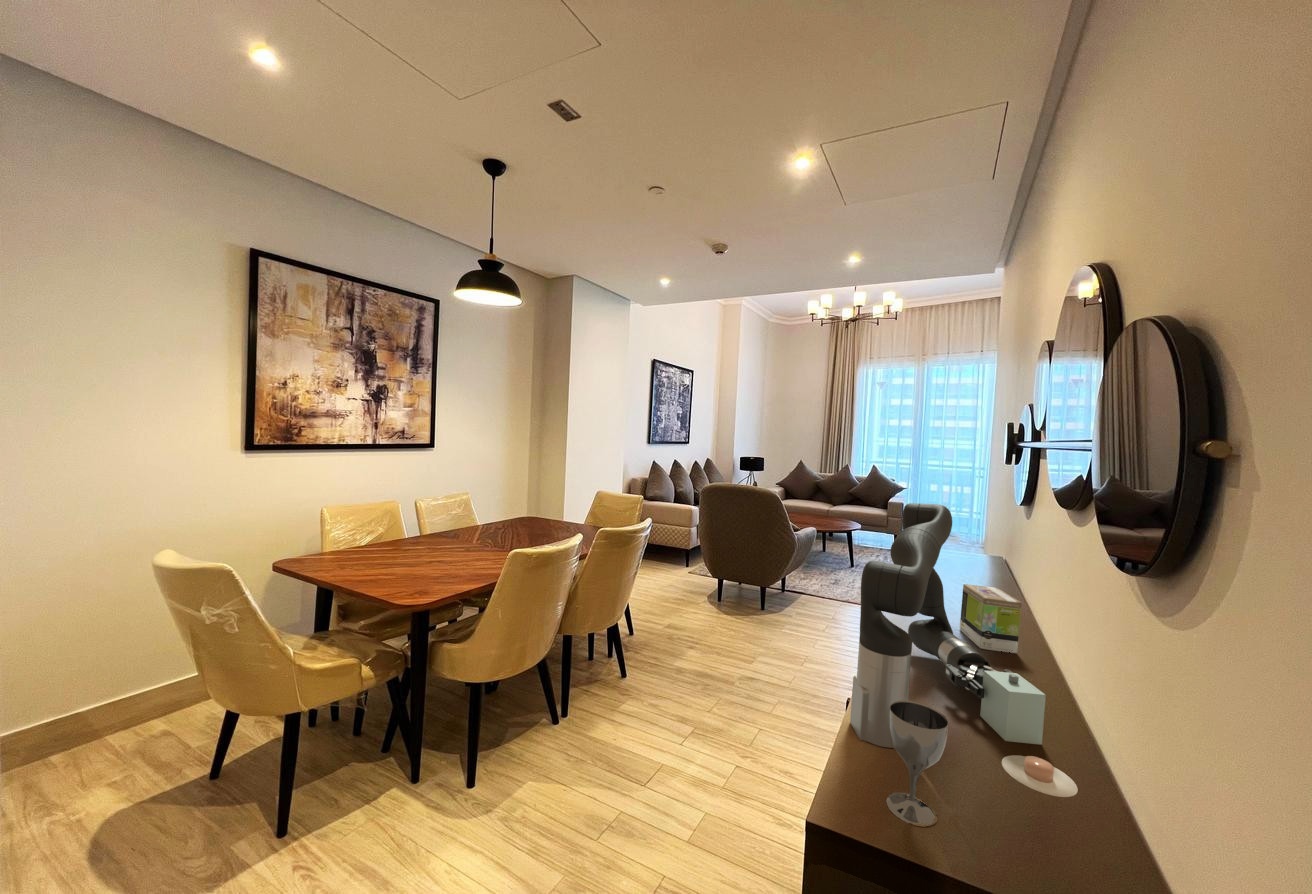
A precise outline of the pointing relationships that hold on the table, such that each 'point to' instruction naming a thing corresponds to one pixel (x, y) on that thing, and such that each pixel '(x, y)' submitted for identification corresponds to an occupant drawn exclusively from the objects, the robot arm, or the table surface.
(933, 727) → the wine glass
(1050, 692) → the table surface
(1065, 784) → the plate
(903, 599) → the robot arm
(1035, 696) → the cloche
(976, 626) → the tea box
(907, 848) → the table surface
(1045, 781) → the pink rounded disc
